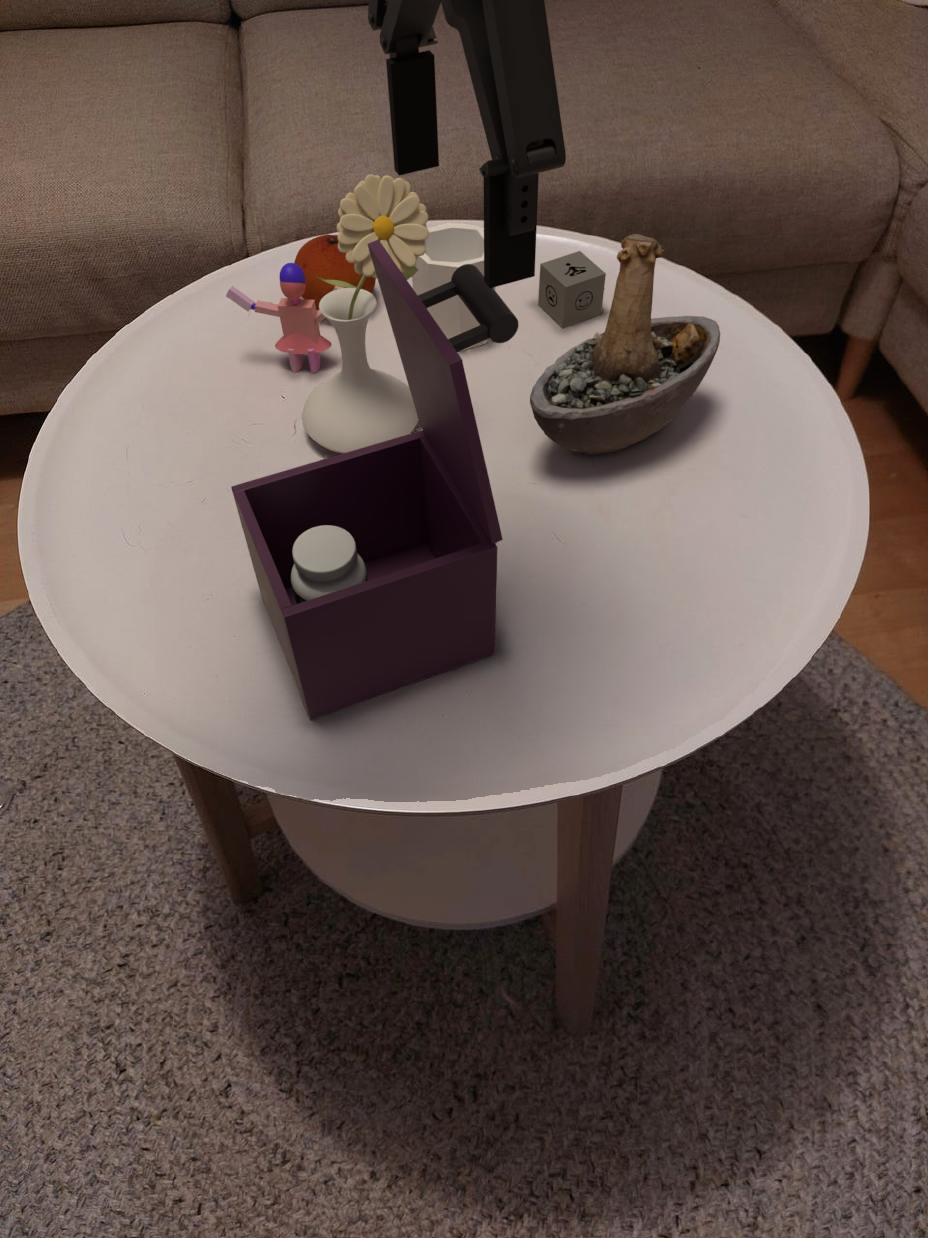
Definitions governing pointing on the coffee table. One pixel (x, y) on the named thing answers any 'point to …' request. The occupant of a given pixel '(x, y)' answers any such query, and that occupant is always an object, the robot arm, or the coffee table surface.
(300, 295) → the figurine
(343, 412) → the flower in vase
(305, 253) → the fruit
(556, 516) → the coffee table surface
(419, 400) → the lid
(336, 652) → the chest
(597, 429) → the planter
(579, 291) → the dice cube
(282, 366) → the coffee table surface
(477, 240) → the mug
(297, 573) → the pill bottle
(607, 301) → the coffee table surface
